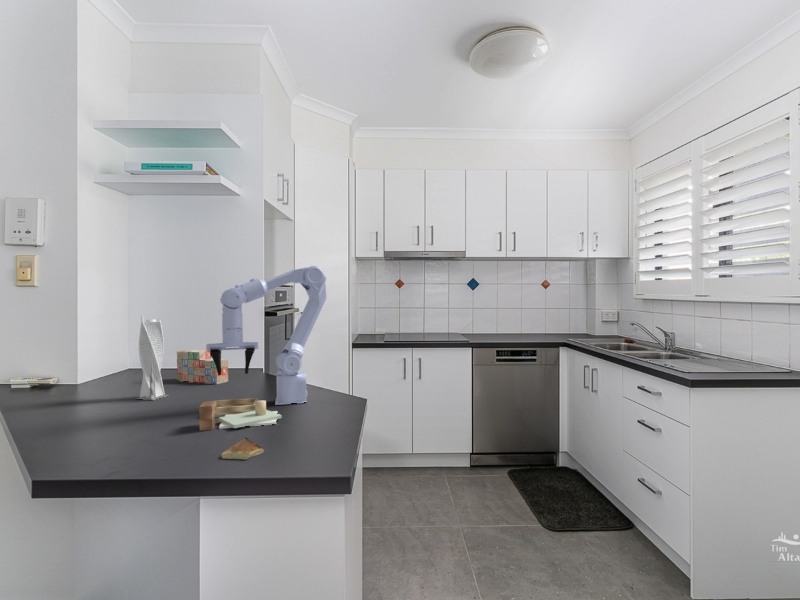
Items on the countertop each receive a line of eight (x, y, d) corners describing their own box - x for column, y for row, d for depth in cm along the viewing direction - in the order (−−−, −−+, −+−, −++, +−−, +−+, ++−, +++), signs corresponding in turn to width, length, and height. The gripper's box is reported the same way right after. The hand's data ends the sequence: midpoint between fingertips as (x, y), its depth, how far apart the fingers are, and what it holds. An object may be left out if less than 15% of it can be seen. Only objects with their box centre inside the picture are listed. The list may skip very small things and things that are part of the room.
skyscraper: (131, 399, 149) (130, 315, 149) (150, 394, 157) (149, 314, 157) (153, 400, 147) (151, 315, 147) (171, 395, 155) (169, 314, 155)
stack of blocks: (228, 382, 180) (228, 351, 179) (216, 384, 174) (216, 353, 174) (189, 378, 188) (189, 349, 188) (176, 381, 182) (176, 350, 182)
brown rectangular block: (216, 422, 120) (216, 400, 120) (212, 429, 114) (212, 406, 114) (204, 423, 120) (204, 400, 120) (199, 430, 113) (199, 406, 113)
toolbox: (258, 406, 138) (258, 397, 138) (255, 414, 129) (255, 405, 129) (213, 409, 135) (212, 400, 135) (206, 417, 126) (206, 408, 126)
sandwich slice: (245, 443, 104) (245, 436, 104) (276, 445, 103) (276, 437, 103) (219, 460, 94) (219, 452, 94) (254, 462, 92) (254, 453, 92)
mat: (277, 413, 130) (277, 411, 130) (276, 424, 118) (276, 422, 118) (225, 416, 126) (225, 414, 126) (219, 428, 115) (219, 426, 115)
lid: (264, 411, 129) (263, 396, 129) (281, 418, 122) (281, 402, 122) (218, 420, 120) (218, 404, 120) (234, 428, 113) (234, 411, 113)
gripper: (258, 327, 141) (259, 370, 141) (209, 328, 138) (209, 372, 138) (257, 328, 134) (257, 374, 134) (204, 330, 131) (205, 376, 131)
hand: (233, 373), depth 136 cm, fingers open, 7 cm apart
